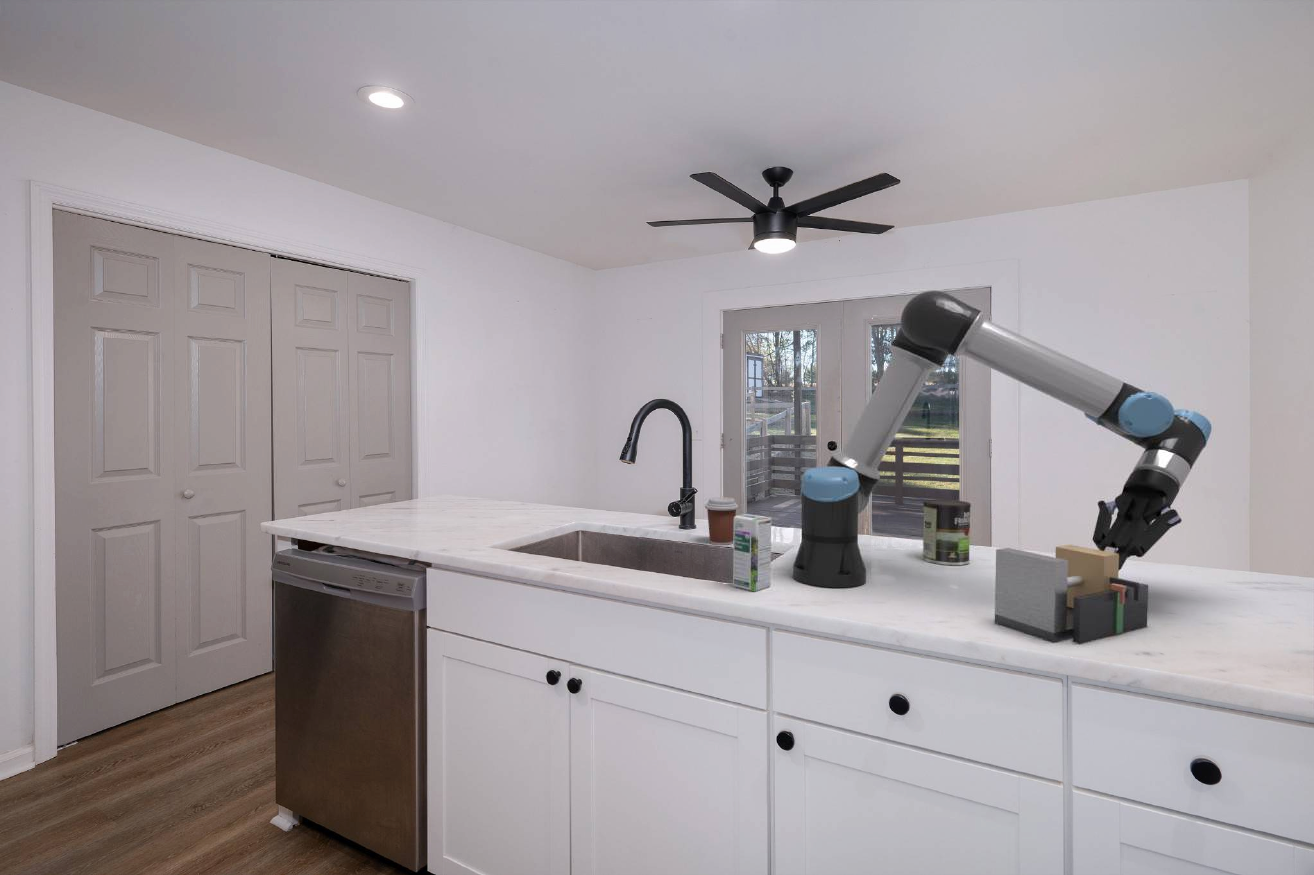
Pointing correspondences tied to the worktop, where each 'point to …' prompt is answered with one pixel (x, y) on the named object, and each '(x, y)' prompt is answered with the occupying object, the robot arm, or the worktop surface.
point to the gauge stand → (1059, 601)
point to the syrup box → (752, 552)
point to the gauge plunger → (1091, 572)
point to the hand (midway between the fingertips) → (1097, 581)
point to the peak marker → (1121, 592)
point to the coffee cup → (721, 520)
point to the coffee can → (946, 532)
